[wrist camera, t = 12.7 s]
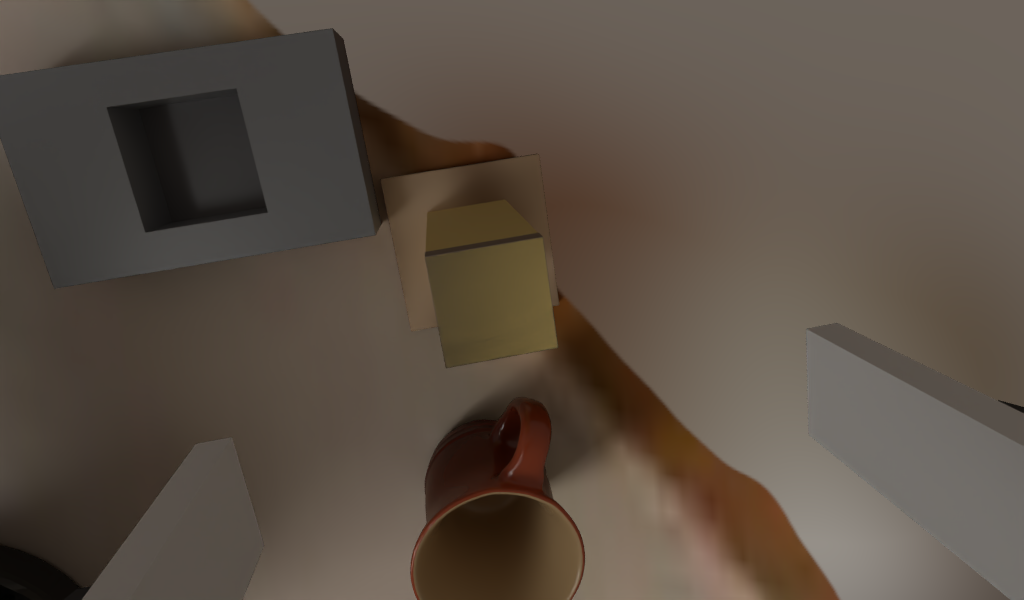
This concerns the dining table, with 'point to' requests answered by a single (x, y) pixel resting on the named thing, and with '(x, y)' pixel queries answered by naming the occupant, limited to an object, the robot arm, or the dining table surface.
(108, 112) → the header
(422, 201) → the pad
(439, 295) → the plug
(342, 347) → the dining table surface
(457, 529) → the mug
